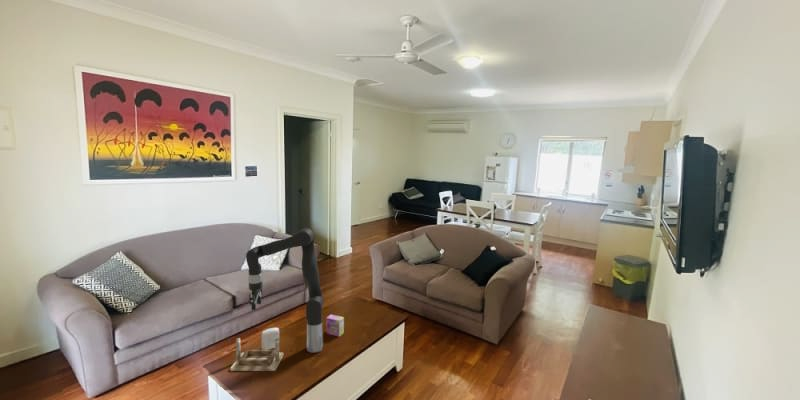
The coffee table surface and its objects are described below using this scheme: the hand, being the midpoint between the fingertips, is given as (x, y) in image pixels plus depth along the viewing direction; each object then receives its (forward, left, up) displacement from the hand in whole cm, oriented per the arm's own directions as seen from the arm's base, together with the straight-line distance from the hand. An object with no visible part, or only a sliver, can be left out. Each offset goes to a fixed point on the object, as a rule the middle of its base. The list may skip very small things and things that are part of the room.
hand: (256, 306), depth 197 cm
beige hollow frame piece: (-6, +14, -27) cm, 31 cm away
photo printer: (-8, -1, -27) cm, 28 cm away
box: (-45, -18, -27) cm, 55 cm away
